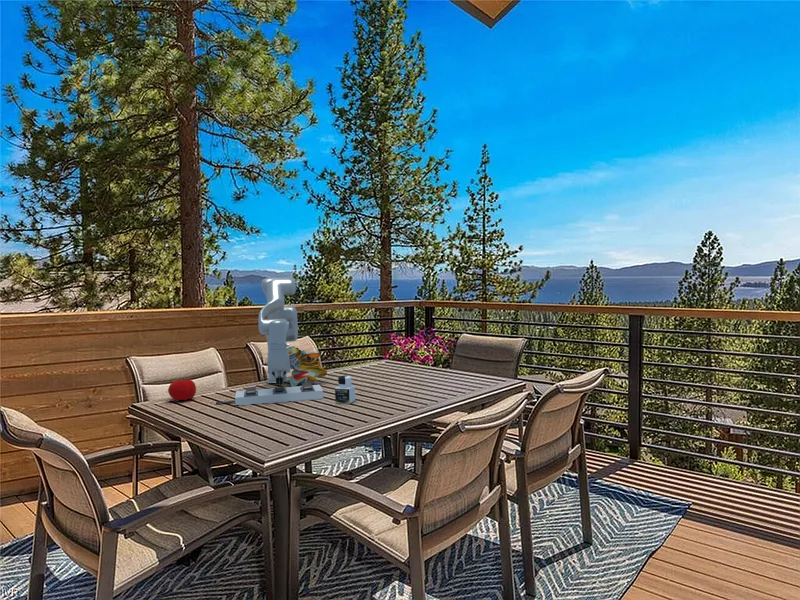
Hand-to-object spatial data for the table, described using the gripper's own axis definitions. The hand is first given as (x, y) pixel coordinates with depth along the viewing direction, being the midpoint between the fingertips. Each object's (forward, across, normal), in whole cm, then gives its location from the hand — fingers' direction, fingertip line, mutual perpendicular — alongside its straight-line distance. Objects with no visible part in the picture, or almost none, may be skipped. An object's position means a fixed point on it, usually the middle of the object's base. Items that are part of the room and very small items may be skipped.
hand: (279, 385), depth 246 cm
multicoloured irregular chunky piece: (+8, -14, -35) cm, 38 cm away
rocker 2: (+2, -13, -2) cm, 13 cm away
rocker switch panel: (+7, +5, -5) cm, 10 cm away
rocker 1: (+2, +13, -2) cm, 13 cm away
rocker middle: (+2, 0, -2) cm, 3 cm away
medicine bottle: (+8, -29, +12) cm, 32 cm away
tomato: (+8, +45, -21) cm, 50 cm away
